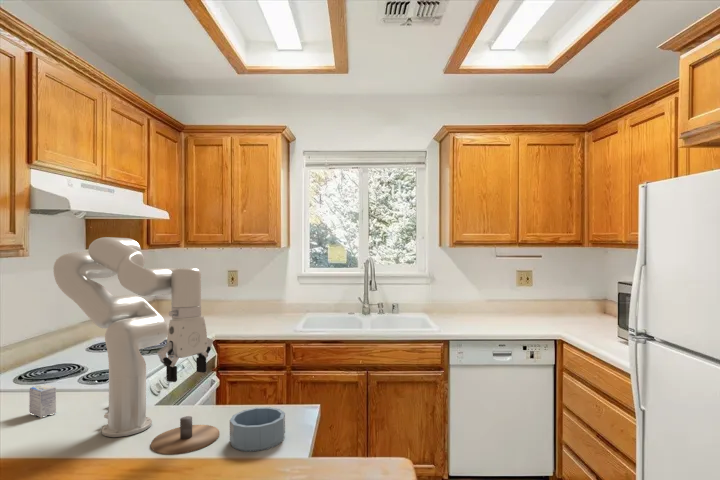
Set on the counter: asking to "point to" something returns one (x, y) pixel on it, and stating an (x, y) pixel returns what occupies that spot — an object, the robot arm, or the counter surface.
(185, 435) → the lid
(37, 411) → the medicine box
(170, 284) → the robot arm
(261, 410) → the bowl
